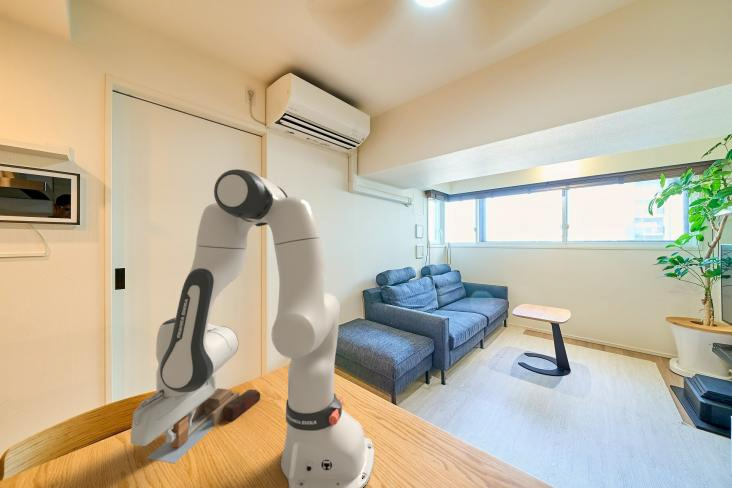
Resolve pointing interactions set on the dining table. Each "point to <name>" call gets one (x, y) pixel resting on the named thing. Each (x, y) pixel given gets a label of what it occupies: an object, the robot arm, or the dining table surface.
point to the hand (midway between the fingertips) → (179, 434)
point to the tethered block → (210, 406)
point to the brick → (240, 405)
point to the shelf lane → (175, 453)
